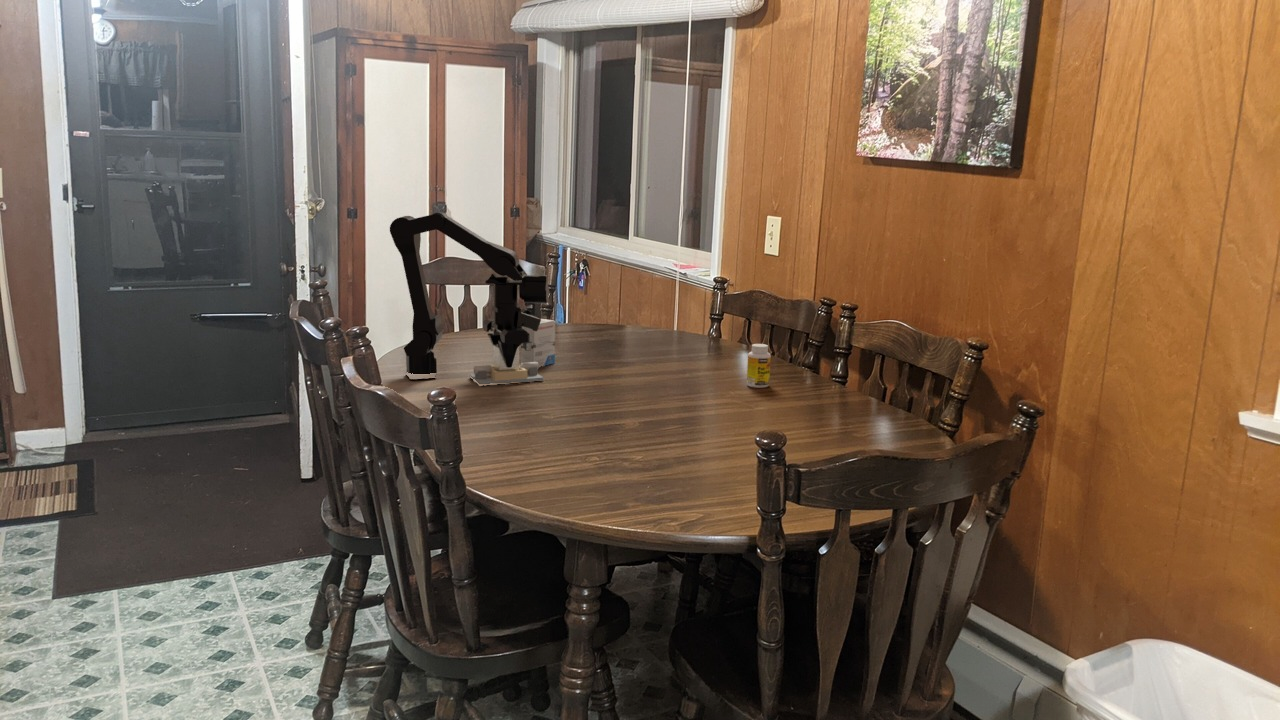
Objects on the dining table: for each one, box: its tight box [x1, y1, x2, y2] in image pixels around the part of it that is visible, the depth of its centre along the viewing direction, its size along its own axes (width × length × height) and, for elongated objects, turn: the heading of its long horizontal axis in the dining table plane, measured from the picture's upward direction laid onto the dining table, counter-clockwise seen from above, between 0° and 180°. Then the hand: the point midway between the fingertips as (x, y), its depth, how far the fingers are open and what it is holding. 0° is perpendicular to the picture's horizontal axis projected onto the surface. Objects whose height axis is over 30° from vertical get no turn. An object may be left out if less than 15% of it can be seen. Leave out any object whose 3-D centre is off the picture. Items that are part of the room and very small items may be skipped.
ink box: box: [520, 318, 556, 367], centre depth 262 cm, size 9×5×12 cm, turn 143°
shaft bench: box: [469, 362, 544, 384], centre depth 246 cm, size 16×9×4 cm, turn 115°
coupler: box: [492, 344, 520, 372], centre depth 245 cm, size 5×5×7 cm
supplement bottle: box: [746, 343, 772, 389], centre depth 245 cm, size 6×6×10 cm
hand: (505, 365), depth 245 cm, fingers closed on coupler, 5 cm apart
